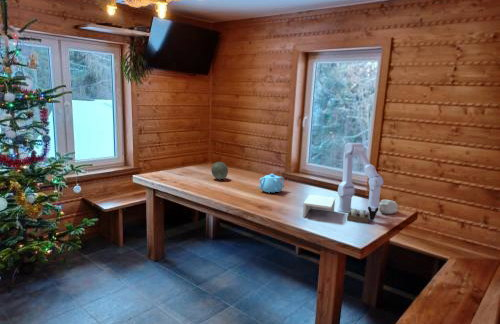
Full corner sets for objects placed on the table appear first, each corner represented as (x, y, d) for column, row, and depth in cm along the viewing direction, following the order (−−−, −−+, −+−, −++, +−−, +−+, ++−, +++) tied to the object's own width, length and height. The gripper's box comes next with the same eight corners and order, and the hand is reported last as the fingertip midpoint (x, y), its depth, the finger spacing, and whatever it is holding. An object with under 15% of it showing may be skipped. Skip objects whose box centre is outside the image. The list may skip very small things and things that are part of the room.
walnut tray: (348, 216, 210) (348, 206, 209) (368, 219, 206) (369, 209, 205) (347, 220, 202) (347, 210, 201) (368, 223, 199) (369, 213, 197)
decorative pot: (267, 187, 271) (268, 170, 268) (286, 191, 262) (286, 173, 259) (256, 191, 257) (257, 174, 255) (275, 195, 248) (276, 177, 246)
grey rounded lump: (377, 214, 215) (378, 210, 229) (397, 216, 211) (397, 212, 224) (379, 199, 214) (380, 196, 228) (399, 202, 210) (398, 199, 224)
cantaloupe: (229, 178, 296) (230, 161, 293) (224, 182, 282) (225, 164, 280) (214, 177, 299) (214, 160, 296) (208, 180, 285) (208, 162, 283)
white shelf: (308, 207, 224) (309, 194, 222) (334, 211, 218) (335, 198, 217) (302, 217, 205) (303, 202, 203) (330, 221, 200) (331, 206, 198)
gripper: (382, 201, 191) (379, 224, 193) (381, 194, 205) (379, 216, 207) (368, 199, 193) (366, 222, 196) (369, 193, 207) (366, 215, 209)
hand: (371, 219), depth 201 cm, fingers closed
